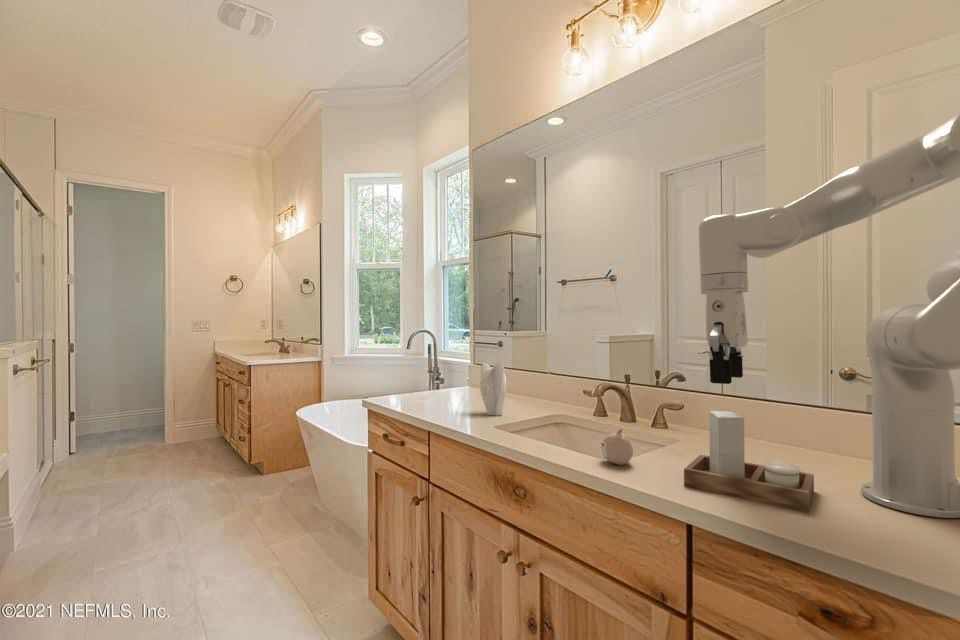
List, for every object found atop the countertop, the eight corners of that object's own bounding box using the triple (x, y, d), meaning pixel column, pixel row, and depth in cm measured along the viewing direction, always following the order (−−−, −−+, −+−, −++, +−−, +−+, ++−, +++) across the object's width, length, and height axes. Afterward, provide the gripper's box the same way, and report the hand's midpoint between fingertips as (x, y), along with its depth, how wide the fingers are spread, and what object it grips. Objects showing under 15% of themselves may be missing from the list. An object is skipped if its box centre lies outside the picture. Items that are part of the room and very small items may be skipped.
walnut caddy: (813, 491, 77) (813, 474, 77) (808, 512, 69) (808, 493, 69) (700, 469, 89) (700, 454, 89) (684, 485, 80) (683, 469, 80)
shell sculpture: (481, 412, 147) (480, 357, 147) (506, 412, 146) (505, 357, 146) (480, 417, 139) (479, 359, 139) (506, 417, 138) (506, 359, 138)
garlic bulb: (597, 465, 92) (596, 426, 92) (605, 456, 98) (605, 420, 98) (630, 470, 89) (629, 429, 89) (637, 461, 95) (636, 423, 95)
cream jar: (801, 491, 76) (801, 465, 76) (798, 500, 72) (798, 473, 72) (766, 484, 79) (766, 459, 79) (762, 492, 75) (761, 467, 75)
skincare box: (745, 487, 78) (745, 418, 78) (718, 485, 79) (718, 417, 79) (733, 475, 84) (733, 411, 84) (708, 474, 85) (708, 410, 85)
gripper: (737, 280, 72) (741, 387, 72) (756, 285, 85) (759, 376, 85) (687, 284, 77) (691, 384, 77) (712, 288, 90) (715, 374, 90)
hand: (727, 380), depth 81 cm, fingers open, 9 cm apart
